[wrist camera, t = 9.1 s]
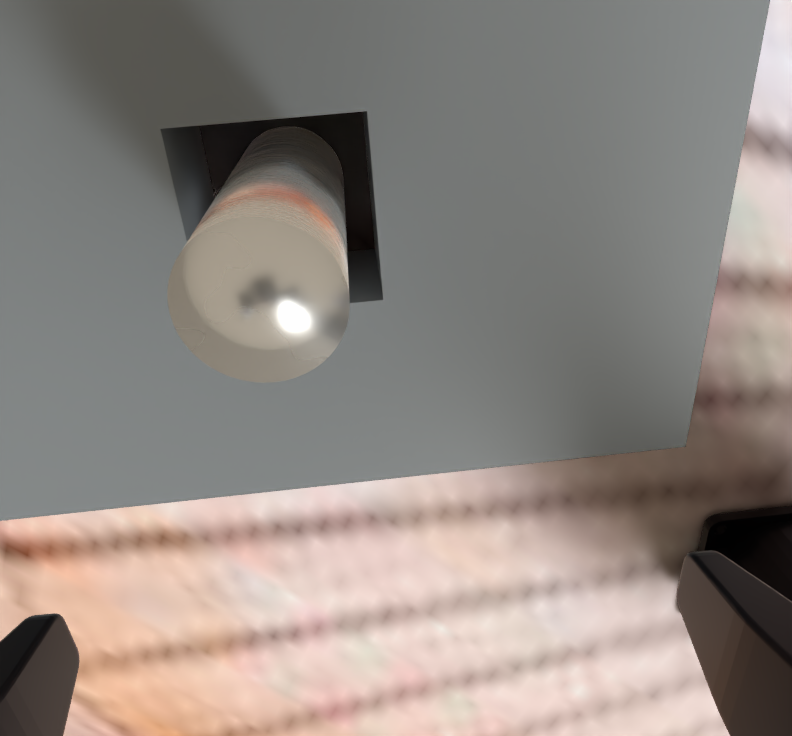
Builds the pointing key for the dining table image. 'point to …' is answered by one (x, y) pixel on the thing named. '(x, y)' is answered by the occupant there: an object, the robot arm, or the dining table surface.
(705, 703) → the dining table surface
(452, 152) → the hole block
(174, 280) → the steel peg
